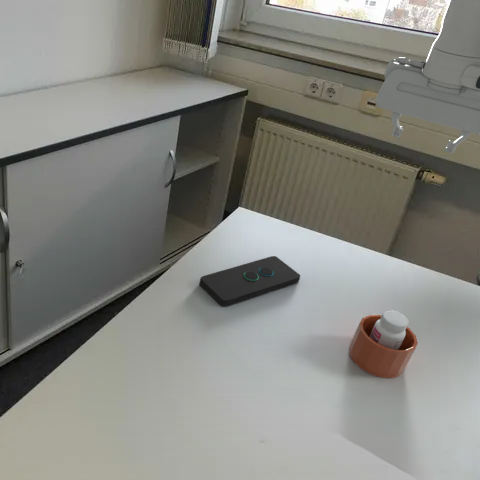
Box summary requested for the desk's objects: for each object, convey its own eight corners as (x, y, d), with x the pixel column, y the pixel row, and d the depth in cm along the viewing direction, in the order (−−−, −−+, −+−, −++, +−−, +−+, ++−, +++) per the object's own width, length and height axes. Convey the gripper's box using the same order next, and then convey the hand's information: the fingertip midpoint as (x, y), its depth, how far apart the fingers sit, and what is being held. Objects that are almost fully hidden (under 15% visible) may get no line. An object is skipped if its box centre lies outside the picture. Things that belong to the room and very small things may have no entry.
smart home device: (302, 276, 109) (225, 301, 100) (300, 282, 110) (223, 308, 101) (274, 254, 115) (198, 276, 106) (272, 260, 116) (197, 283, 107)
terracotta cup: (409, 357, 94) (422, 331, 91) (396, 387, 88) (410, 360, 85) (357, 332, 98) (368, 307, 95) (341, 359, 92) (352, 333, 89)
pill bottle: (357, 351, 93) (374, 314, 88) (372, 341, 95) (389, 304, 91) (383, 369, 90) (401, 331, 85) (398, 358, 92) (416, 321, 88)
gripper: (386, 57, 95) (360, 131, 103) (518, 87, 86) (479, 166, 93) (395, 52, 100) (370, 123, 107) (521, 79, 90) (484, 156, 97)
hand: (421, 143), depth 100 cm, fingers open, 8 cm apart
